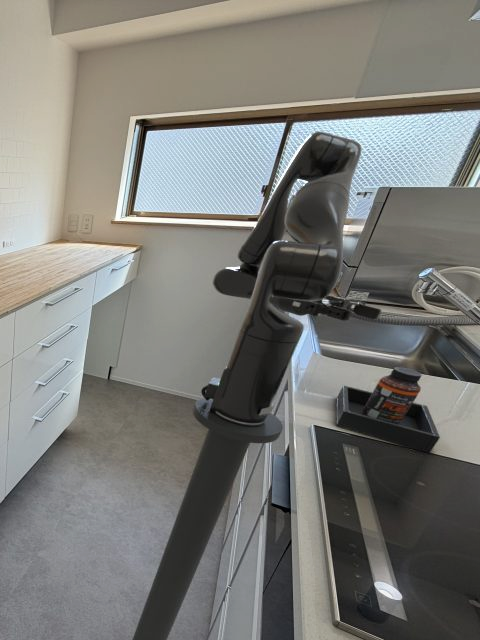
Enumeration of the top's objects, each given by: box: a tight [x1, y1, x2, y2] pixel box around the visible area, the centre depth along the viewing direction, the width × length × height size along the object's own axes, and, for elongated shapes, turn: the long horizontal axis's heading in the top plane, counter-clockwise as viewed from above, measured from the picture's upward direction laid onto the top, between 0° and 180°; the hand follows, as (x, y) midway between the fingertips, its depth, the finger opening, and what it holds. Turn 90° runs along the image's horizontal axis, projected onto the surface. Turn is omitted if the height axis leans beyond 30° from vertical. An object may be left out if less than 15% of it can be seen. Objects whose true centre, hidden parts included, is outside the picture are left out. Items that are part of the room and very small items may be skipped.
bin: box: [335, 384, 441, 454], centre depth 84 cm, size 14×16×4 cm
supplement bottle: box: [361, 366, 423, 425], centre depth 82 cm, size 6×6×11 cm
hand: (364, 315), depth 85 cm, fingers open, 8 cm apart
